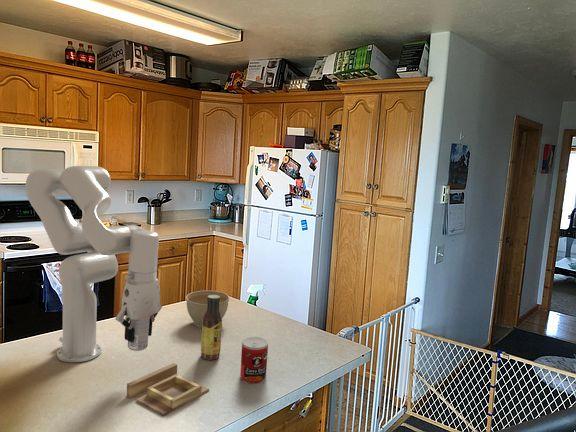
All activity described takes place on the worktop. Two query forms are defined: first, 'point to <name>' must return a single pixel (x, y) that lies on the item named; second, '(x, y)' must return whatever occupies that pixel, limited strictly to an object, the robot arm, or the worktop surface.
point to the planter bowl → (204, 305)
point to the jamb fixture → (165, 390)
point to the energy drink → (140, 334)
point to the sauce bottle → (211, 329)
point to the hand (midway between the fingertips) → (138, 336)
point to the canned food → (254, 359)
